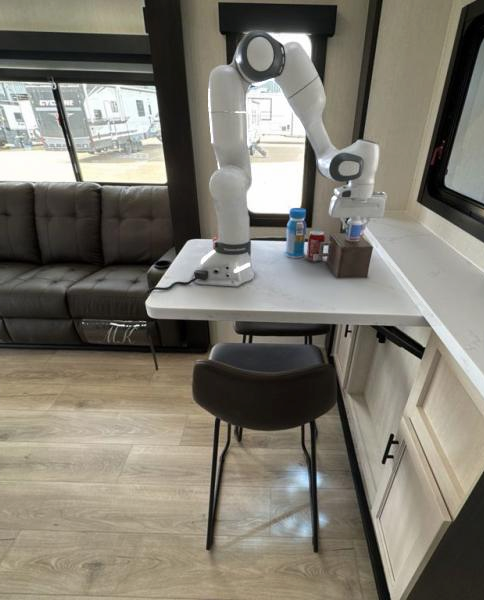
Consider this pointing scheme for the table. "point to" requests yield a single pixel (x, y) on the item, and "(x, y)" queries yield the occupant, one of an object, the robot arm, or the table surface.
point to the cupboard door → (332, 254)
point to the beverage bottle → (296, 233)
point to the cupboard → (354, 257)
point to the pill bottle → (353, 229)
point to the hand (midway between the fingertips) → (353, 229)
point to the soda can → (315, 245)
